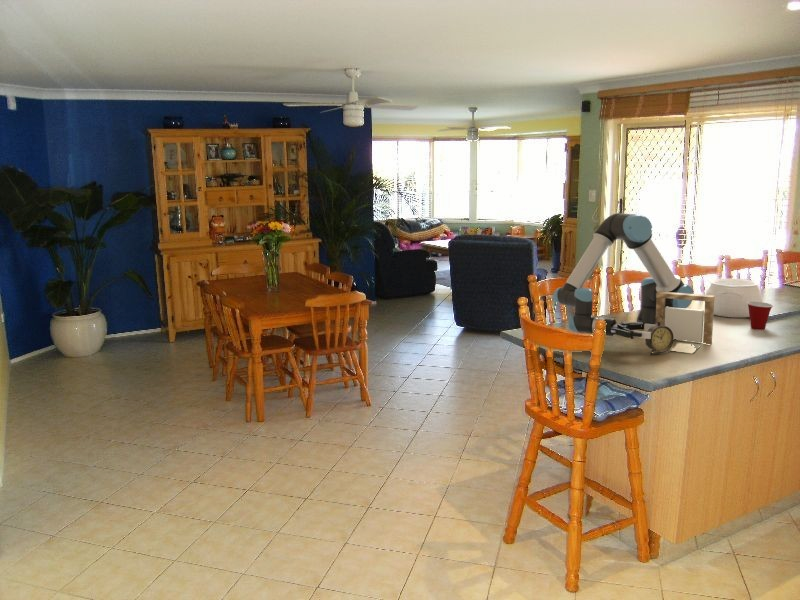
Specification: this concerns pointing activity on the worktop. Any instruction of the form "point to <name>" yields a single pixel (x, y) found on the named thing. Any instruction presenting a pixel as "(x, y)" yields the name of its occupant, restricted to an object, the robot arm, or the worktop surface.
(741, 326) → the worktop surface
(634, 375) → the worktop surface
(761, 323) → the plastic cup
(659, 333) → the alarm clock
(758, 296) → the white pet bowl
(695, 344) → the pad
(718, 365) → the worktop surface
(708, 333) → the door frame
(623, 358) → the worktop surface
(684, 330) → the door
